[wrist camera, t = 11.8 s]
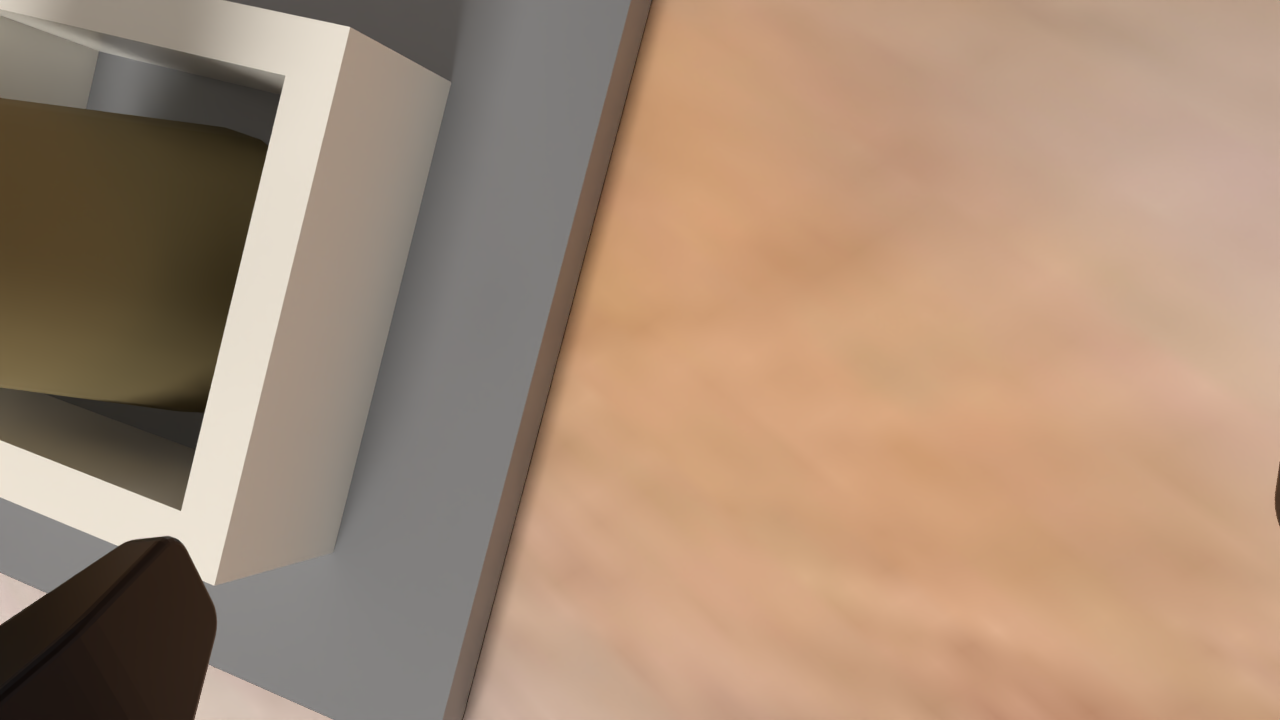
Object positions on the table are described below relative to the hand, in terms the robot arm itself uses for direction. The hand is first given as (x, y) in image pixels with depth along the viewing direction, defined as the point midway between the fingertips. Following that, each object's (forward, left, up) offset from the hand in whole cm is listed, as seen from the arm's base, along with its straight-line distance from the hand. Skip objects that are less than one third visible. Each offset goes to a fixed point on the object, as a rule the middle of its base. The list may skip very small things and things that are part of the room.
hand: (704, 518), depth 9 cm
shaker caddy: (0, +14, -11) cm, 18 cm away
